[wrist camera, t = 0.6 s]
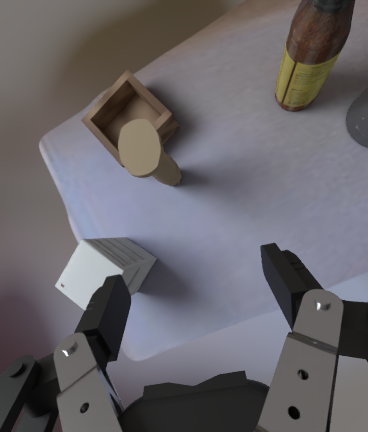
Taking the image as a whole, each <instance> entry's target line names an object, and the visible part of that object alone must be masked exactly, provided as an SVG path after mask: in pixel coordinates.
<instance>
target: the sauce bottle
mask: <svg viewBox="0 0 368 432" xmlns="http://www.w3.org/2000/svg"><path fill="white" fill-rule="evenodd" d="M354 4H355V0H302V2H301V3H300V5H299V7H298V9H297V11H296V13H295V15H294V17H293V20H292V24H291V28H290V33H289V35H288V37H287V41H286V45H285V49H284V53H283V58H282V62H281V66H280V70H279V75H278V79H277V83H276V89H275V91H276V92H275V98H276V101H277V102H278V104H279V105H280V106H281V107H282V108H283V109H285V110H289V111H299V110H302V109H304V108H305V107H307V106H308V105H309V104H311V103H312V102H313V100H314V98H315V97H316V96H317V94H318V93H319V91H320V89H321V87H322V85H323V83H324V82H325V80H326V78H327V76H328V74H329V72H330V70H331V69H332V67H333V65H334V63H335V61H336V59H337V58H338V56H339V54H340V52H341V50H342V48H343V46H344V44H345V42H346V40H347V38H348V35H349V32H350V28H351V21H352V15H353V9H354Z"/></svg>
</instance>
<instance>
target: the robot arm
mask: <svg viewBox="0 0 368 432" xmlns="http://www.w3.org/2000/svg"><path fill="white" fill-rule="evenodd" d="M346 125H347V129H348V132H349V133H350V135H351V137H352V138H353V139H354V140H355V141H356V142H358V143H359V144H361V145H362V146H365V147H367V148H368V87H367V88H366V89H365V90H364V91H363V92H362V93H361V94H360V96H359V97H358V98H357V99H356V100H355V101H354V102H353V103H352V105H351V106H350V108H349V110H348V112H347V117H346ZM260 248H261V258H262V267H263V272H264V275H265V278H266V280H267V282H268V284H269V286H270V288H271V290H272V292H273V294H274V296H275V298H276V300H277V302H278V304H279V306H280V308H281V310H282V312H283V314H284V316H285V318H286V320H287V322H288V324H289V326H290V328H291V330H292V333H291V332H289V333H288V335H287V337H286V340H285V343H284V346H283V349H282V352H281V355H280V358H279V361H278V365H277V368H276V370H275V373H274V377H273V380H272V383H271V386H270V387H269V386H267V385H265V384H263V383H261V382H258V381H254V380H249V379H247V378H246V374H245V371H238V372H232V373H227V374H220V375H217V376H215V377H213V378H211V379H209V380H207V381H204V382H202V383H200V384H198V385H196V386H188V385H181V384H175V383H162V384H156V385H149V386H145V387H144V392H143V396H142V397H140V398H139V399H137V400H135V401H134V402H133V403H132V404H130V405H129V406H128V407H127V408H126V409H125V408H124V406H123V404H122V402H121V400H120V398H119V396H118V393H117V391H116V390H115V387H114V385H113V382H112V380H111V378H110V376H109V373H108V372H107V370H106V367H107V363H108V362H111V361H116V360H117V357H118V353H119V349H120V345H121V341H122V338H123V334H124V330H125V326H126V322H127V318H128V314H129V310H130V306H131V295H130V292H129V290H128V288H127V286H126V283H125V281H124V279H123V277H122V275H121V274H117V275H112V276H107V277H106V279H105V281H104V283H103V285H102V287H99V288H98V289H97V290H96V291H95V292H94V293H93V295H92V297H91V299H90V301H89V304H88V305H87V307H86V310H85V311H84V314H83V315H82V318H81V320H80V322H79V324H78V326H77V328H76V330H75V332H74V334H72V335H70V336H68V337H66V338H65V339H64V340H63V341H62V342H61V343H60V344H59V345H58V346H57V348H56V349H55V352H54V353H52V354H50V355H48V356H46V357H44V358H42V359H39V360H36V359H35V357H34V356H33V355H25V356H22V357H20V358H18V359H17V360H15V361H14V362H13V363H11V364H10V365H9V366H8V367H7V368H6V369H5V371H4V372H3V373H2V375H1V376H0V432H11V430H12V428H13V426H14V424H15V422H16V420H17V418H18V416H19V414H20V412H21V410H22V409H23V410H24V411H25V412H24V415H23V417H22V419H21V421H20V423H19V425H18V427H17V429H16V431H15V432H52V430H53V428H54V425H55V422H56V419H57V416H58V414H60V419H61V425H62V429H63V432H329V431H330V423H331V415H332V406H333V397H334V389H335V382H336V374H337V366H338V359H339V355H342V356H348V357H355V358H362V359H366V360H367V362H368V303H367V302H366V303H365V302H353V301H345V300H341V299H340V298H339V297H338V296H337V295H335V294H334V293H332V292H330V291H326V290H324V289H323V288H322V287H321V285H320V284H319V283H318V282H317V280H316V279H315V278H314V277H313V275H312V274H311V273H310V272H309V270H308V269H307V268H306V267H305V265H304V264H303V263H302V262H301V260H300V259H299V258H298V257H297V255H295V254H294V253H292V252H290V251H288V250H285V251H281V250H280V249H279V247H278V246H277V245H276V243H271V244H266V245H261V247H260Z"/></svg>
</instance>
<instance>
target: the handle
mask: <svg viewBox="0 0 368 432" xmlns="http://www.w3.org/2000/svg"><path fill="white" fill-rule="evenodd" d="M118 150H119V154H120V159H121V162H122V164H123V165H124V167H125V168H126V169H127V171H128V172H129V173H130V174H131V175H133V176H135V177H139V178H145V177H149V176H153V177H154V178H155V179H156V180H158V181H159V182H161V183H163V184H166V185H169V186H174V185H179V184H180V179H181V177H182V173H181V171H180V169H179V167H178V165H177V164H176V162H175V161H174V160H173V159H172V158H171V157H170V156H169V155H167V154H166V153H165V152H164V147H163V143H162V140H161V137H160V135H159V134H158V132H157V131H156V129H155V128H154V127H153V126H152V125H151V123H150V122H149V121H148V120H146V119H136V120H132V121H130V122H128V123H127V124H125V125H124V126H123V127H122V129H121V131H120V136H119V141H118Z"/></svg>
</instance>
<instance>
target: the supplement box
mask: <svg viewBox="0 0 368 432" xmlns="http://www.w3.org/2000/svg"><path fill="white" fill-rule="evenodd" d="M156 260H157V258H156V257H154V256H153V255H151V254H150V253H148V252H147V251H145V250H144V249H143V248H141V247H140V246H138V245H137V244H135V243H134V242H132V241H131V240H129V239H128V238H126V237H121V238H100V239H82V240H81V241H80V243H79V245H78V246H77V248H76V250H75V252H74V254H73V255H72V257H71V259H70V260H69V262H68V264H67V266H66V268H65V269H64V271H63V273H62V275H61V276H60V278H59V280H58V282H57V283H56V285H55V287H57V288H58V289H59V290H60V291H61V292H63V293H64V294H65V295H66V296H68V297H69V298H70V299H71V300H72V301H74V302H75V303H76V304H77V305H79V306H80V307H81V308H82V309H84V310H86V307H87V305H88V304H89V301H90V299H91V297H92V295H93V293H94V292H95V291H96V290H97V289H98V288H99V287H102V285H103V283H104V281H105V279H106V277H107V276H112V275H117V274H121V275H122V277H123V279H124V281H125V283H126V286H127V288H128V290H129V292H130V295H131V296H132V295H134V294H135V293H137V291H138V290H139V288H140V286H141V284H142V282H143V280H144V279H145V277H146V275H147V274H148V272H149V271H150V269H151V267H152V266H153V264H154V263H155V261H156Z"/></svg>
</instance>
